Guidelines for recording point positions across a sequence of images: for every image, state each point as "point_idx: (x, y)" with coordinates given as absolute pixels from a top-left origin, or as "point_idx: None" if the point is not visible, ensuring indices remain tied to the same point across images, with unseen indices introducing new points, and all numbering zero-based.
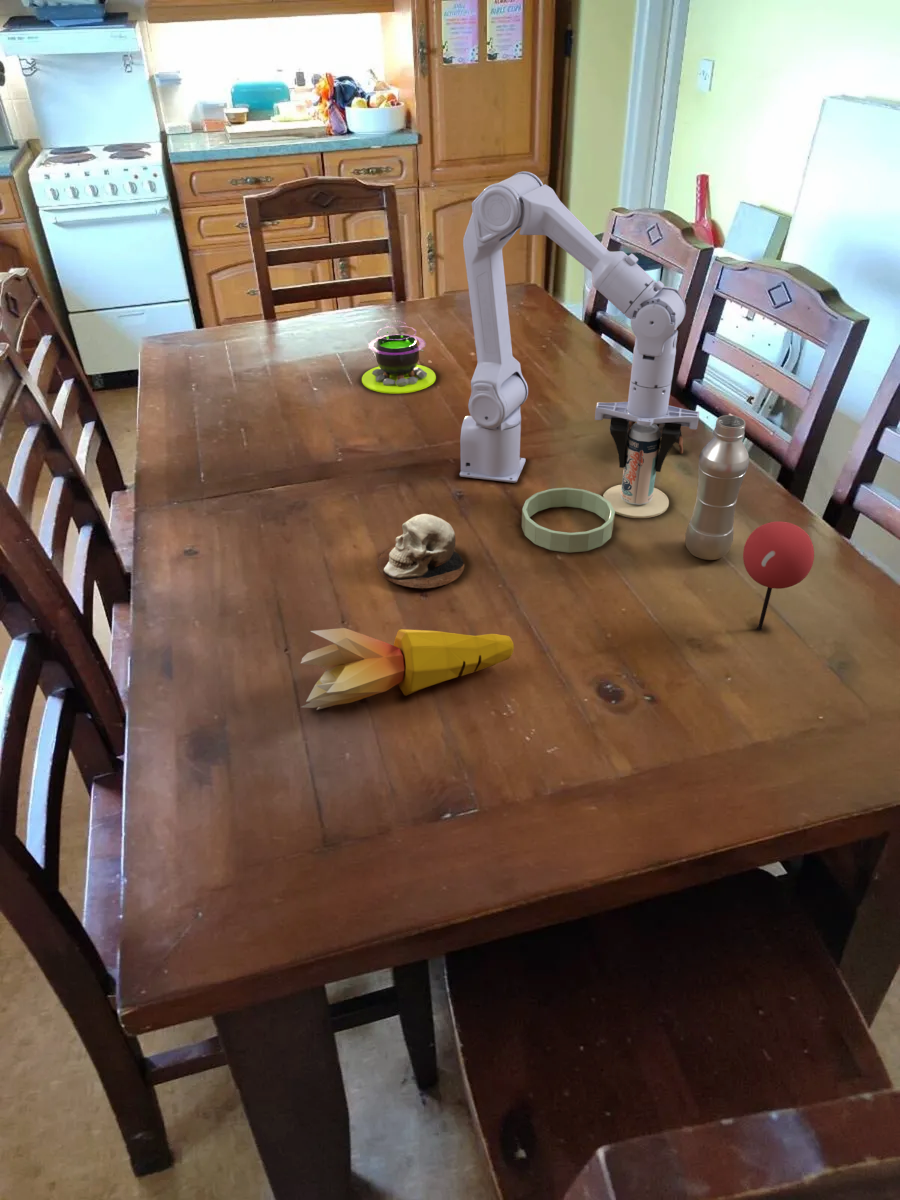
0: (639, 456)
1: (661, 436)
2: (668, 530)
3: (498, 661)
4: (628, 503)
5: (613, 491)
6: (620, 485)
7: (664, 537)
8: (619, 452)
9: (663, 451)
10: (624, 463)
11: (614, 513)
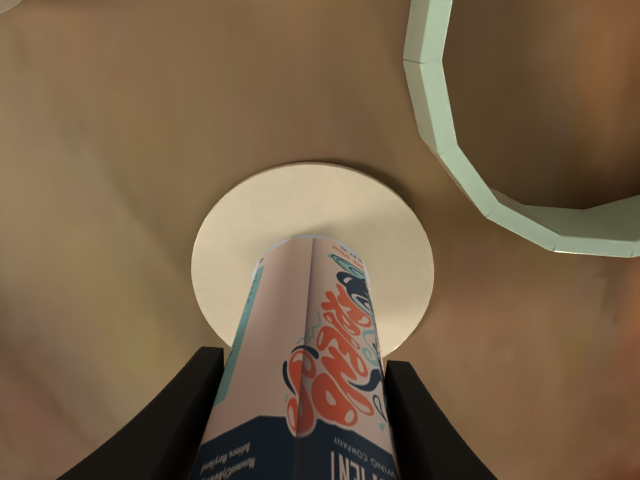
0: (313, 395)
1: None
2: (170, 86)
3: None
4: None
5: (393, 321)
6: None
7: (179, 21)
8: (446, 429)
9: (140, 440)
10: (391, 380)
11: (423, 38)
